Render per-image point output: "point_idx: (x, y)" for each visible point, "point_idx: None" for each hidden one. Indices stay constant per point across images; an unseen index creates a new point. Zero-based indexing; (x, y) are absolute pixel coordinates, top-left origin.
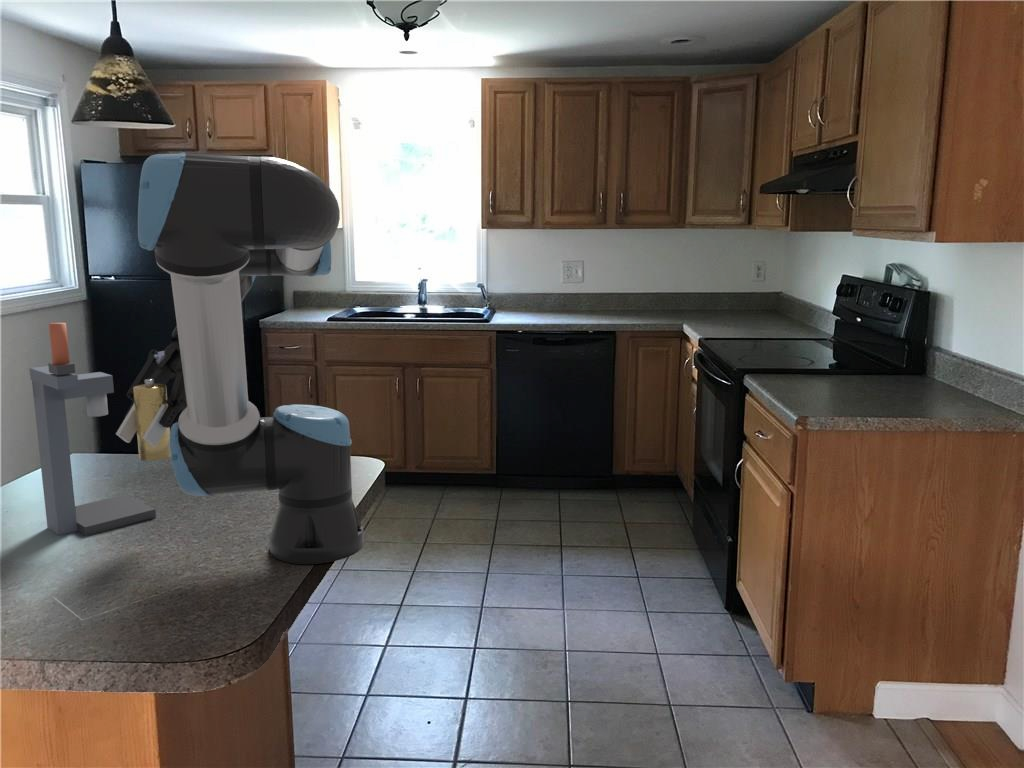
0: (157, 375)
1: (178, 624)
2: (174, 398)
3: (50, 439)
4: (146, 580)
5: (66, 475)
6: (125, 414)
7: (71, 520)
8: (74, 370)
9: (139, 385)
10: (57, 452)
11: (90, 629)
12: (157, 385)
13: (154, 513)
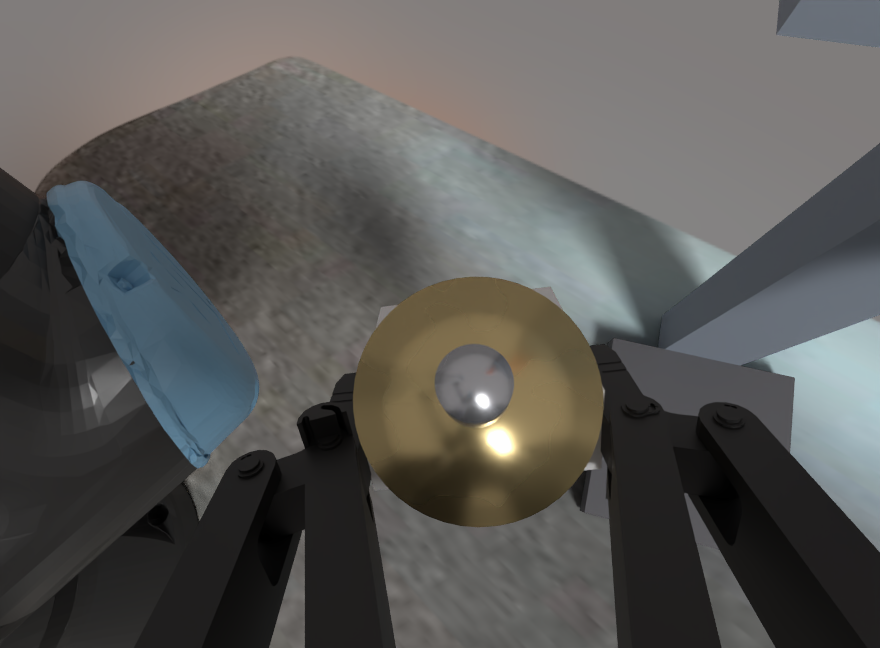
0: (632, 612)
1: (152, 199)
2: (309, 464)
3: (813, 201)
4: (311, 269)
5: (727, 298)
6: (615, 354)
7: (669, 337)
8: None
9: (589, 381)
10: (776, 245)
11: (257, 133)
12: (464, 459)
13: (582, 507)
